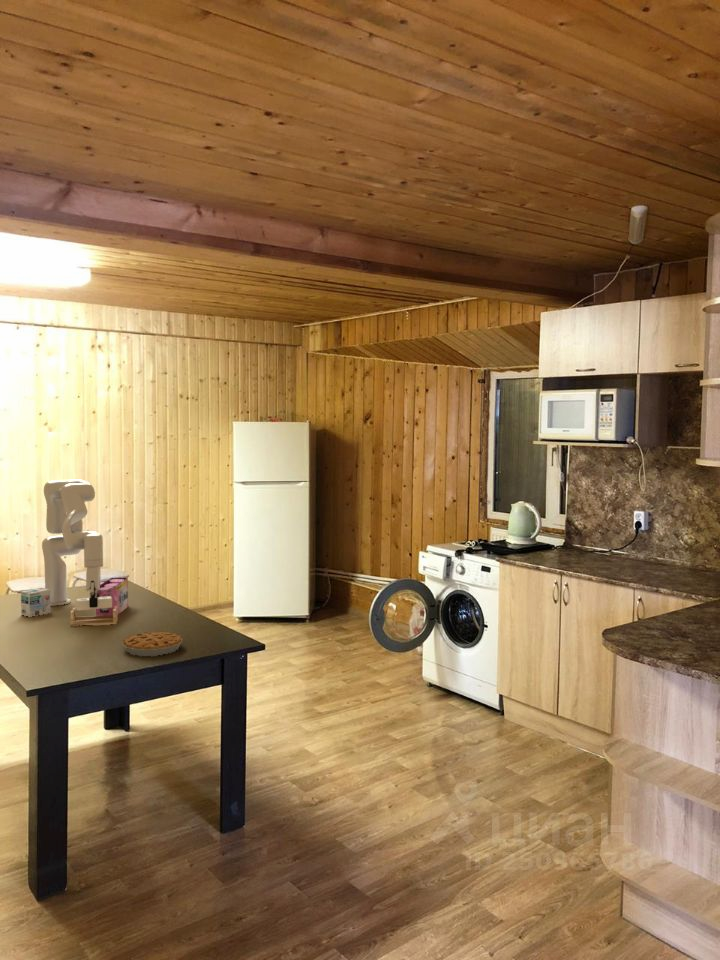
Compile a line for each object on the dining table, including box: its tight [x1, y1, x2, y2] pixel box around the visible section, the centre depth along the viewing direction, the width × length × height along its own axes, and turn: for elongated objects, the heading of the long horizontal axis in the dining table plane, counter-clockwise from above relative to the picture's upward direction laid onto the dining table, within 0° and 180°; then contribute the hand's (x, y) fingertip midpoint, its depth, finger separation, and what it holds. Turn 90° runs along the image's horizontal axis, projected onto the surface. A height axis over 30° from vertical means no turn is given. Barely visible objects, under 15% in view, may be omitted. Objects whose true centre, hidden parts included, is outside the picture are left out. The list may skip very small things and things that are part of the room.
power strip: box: [75, 596, 112, 612], centre depth 334 cm, size 4×14×4 cm, turn 115°
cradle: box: [69, 606, 119, 627], centre depth 335 cm, size 8×18×6 cm, turn 102°
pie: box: [121, 631, 183, 657], centre depth 297 cm, size 22×22×5 cm
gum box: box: [95, 577, 129, 616], centre depth 353 cm, size 24×8×14 cm, turn 0°
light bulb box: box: [20, 587, 52, 618], centre depth 349 cm, size 11×7×11 cm, turn 146°
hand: (94, 605), depth 334 cm, fingers closed on power strip, 5 cm apart
